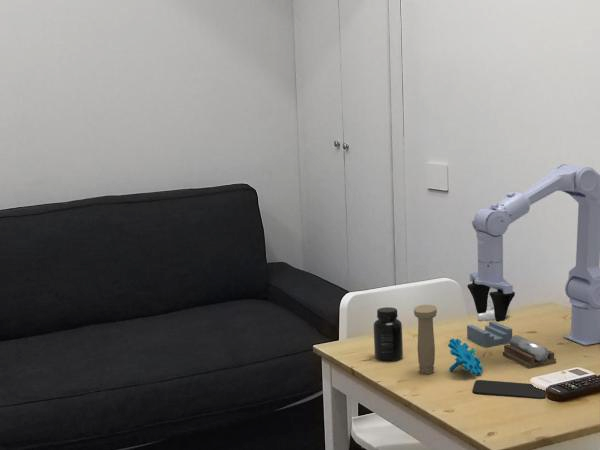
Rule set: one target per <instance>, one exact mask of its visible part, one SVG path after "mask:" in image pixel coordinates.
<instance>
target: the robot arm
mask: <svg viewBox="0 0 600 450" xmlns="http://www.w3.org/2000/svg"><path fill="white" fill-rule="evenodd" d="M558 191H559V192H563V193H566V194H568V195H570V197H572V199H573V200H575V201H576V202H577V204H578V205H577V206H578V209H577V212H578V213H577V231H576V233H577V235H576V251H575V252H576V253H575V255H576V256H575V266H573V268H571V269H570V270H569V271H568V278H567V280H566V282H565V285H564V286H565V287H564V291H565V292H564V293H565V295H566V297H568V298H569V303H570V304H571V320H570V321H571V322H570V326H571V329H570V330H571V333H570V334H568V333H567V334H564V335H563V338H565V339H567V340H570V341H572V342H575V343H577V344H579V345H582V346H590V345H594V344H600V173H599V172H597V171H596V170H595V169H594V168H593V167H591V166H576V165H569V164H563V163H562V164H560V165H558V166H556V167H555V168H552V169H550V170H549V172H548V174H546V175H545V176H544V177H543V178H541V179H539V180H538V181H537V182H535V183H534V184H533V185H531V186H529V188H527V189H526V190H525V191H523V192H520V191H519V192H518V191H514V192H513V191H510V192H508V193H506V196H505V197H504V198H503V199H500V201H498V202H493V203H492V204H491V206H490V207H489V208H486V207H485V208H481V209H479V210H478V211H477V212H476V213H475V215H474V218H473V220H472V221H471V225H472V228H473V229H474V230H475V232H476V238H477V271H476V272H470V273H469V280H470V281H469V282H471V283H468V284H467V289H468V290H469V292H470V294H471V296H472V298H473V302H474V306H475V311H476V313H477V315H478V314H480V313H486V310H487V301H488V295H489V291H490V287H491V288H494V289H497V291H496V292H490V296H491V298H492V301H493V305H494V313H495V320H494V321H495V322H497V323H499V322H504V321H506V317H507V316H506V314H507V310H508V307H509V308H510V304H511V302H512V300H513V299H514V297H515V295H516V292H515V291H513V289H514V288H513V287H514V286H513V284H511V283H510V282H509V281H507V279H505V278H504V234H506V232H507V230H508V227H509V226H510V225H511V224H512V223H514V222H516V221H517V220H519V219H520V218H522V217H523V216H525V215H527V214H528V213H529V212H530V211H531V208H530V207H531V206H532V205H533V204H535V203H537V202H539V201H541V200H542V199H545V198H546V197H547V196H550V195H552V194H553V193H555V192H558Z"/></svg>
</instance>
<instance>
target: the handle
mask: <svg viewBox="0 0 600 450" xmlns="http://www.w3.org/2000/svg"><path fill="white" fill-rule="evenodd" d="M437 309H438V308H437V307H436V305H432V304H420V305H417V306H415V307H414V309H413V313H414V317H416V318H417V322H418V323H417V324H418V325H417V360H418V369H419V372H420V373H421V374H423V375H426V374H427V375H430V374H433V373H434V372H435V366H434V365H435V361H436V357H435V356H436V348H435V347H436V346H435V345H436V344H435V335H434V334H435V333H434V318H435V317H436V316H437V311H438V310H437Z"/></svg>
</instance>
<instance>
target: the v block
mask: <svg viewBox="0 0 600 450" xmlns="http://www.w3.org/2000/svg"><path fill="white" fill-rule="evenodd" d="M512 337H513V328H511V327H508V326H506V325H504V324H502V323H499V322H497V321H496V320H489V321H488V325H485V326H484V329H482V328H480V327H478V326H476V325H473V324H467V325H466V339H467V340H468V341H471V342H473V343H475V344H476V345H477V344H478V345H479V346H481V347H484V348H491V347H494V346H500V345H508V344H510V340H511V338H512Z"/></svg>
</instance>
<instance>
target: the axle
mask: <svg viewBox="0 0 600 450" xmlns="http://www.w3.org/2000/svg"><path fill="white" fill-rule="evenodd" d="M509 345H510V346H512V347H515V348H517V349H519V350H521V351H523V352H525V353H527V354H530V355H532V356H534V359H535V360H538V361H540V362H543V361H545V360H546V359H547V357H548V354H549V352H548V350H549V349H548V348H547V347H546V346H543V345H542V344H539V343H538V342H536V341H535V342H534V341H532V340H530V339H528V338H526V337H523V336H520V335H518V334H515V335H512V338H511V340H510V343H509Z"/></svg>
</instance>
